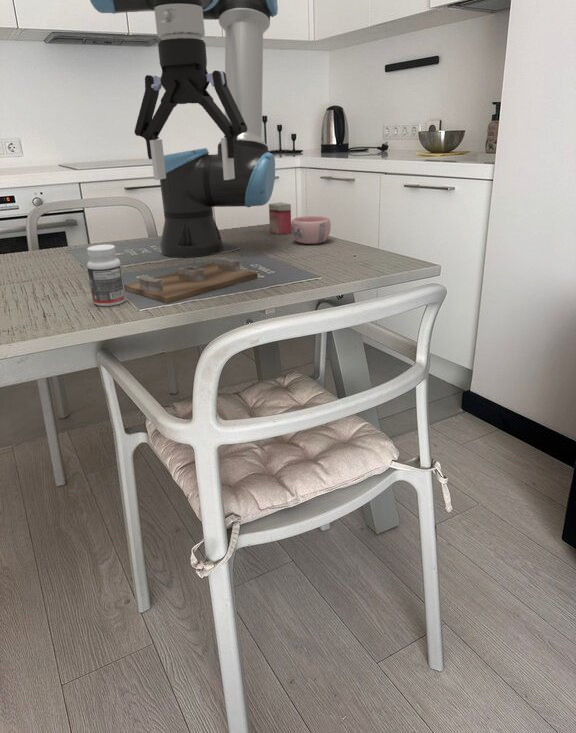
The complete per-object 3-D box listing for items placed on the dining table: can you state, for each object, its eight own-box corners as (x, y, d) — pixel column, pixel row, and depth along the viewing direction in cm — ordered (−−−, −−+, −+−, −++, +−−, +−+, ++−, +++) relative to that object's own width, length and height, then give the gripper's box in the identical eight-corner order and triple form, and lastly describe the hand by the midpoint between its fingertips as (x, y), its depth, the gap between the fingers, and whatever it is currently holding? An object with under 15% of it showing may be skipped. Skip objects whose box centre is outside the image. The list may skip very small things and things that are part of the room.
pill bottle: (97, 298, 106) (88, 244, 102) (128, 296, 106) (120, 242, 102) (90, 307, 100) (80, 251, 97) (123, 306, 101) (114, 249, 97)
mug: (338, 242, 146) (338, 218, 144) (309, 248, 140) (308, 223, 138) (307, 236, 155) (307, 213, 152) (278, 241, 149) (278, 218, 147)
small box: (269, 232, 161) (268, 203, 158) (281, 230, 164) (280, 202, 160) (279, 235, 158) (278, 205, 154) (292, 233, 160) (291, 203, 157)
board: (124, 290, 110) (122, 274, 109) (213, 267, 125) (212, 254, 124) (167, 303, 101) (165, 286, 100) (257, 277, 116) (256, 263, 115)
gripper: (101, 43, 92) (120, 181, 101) (242, 29, 84) (251, 181, 92) (129, 47, 99) (144, 177, 107) (262, 35, 90) (268, 177, 99)
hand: (194, 179), depth 100 cm, fingers open, 13 cm apart
